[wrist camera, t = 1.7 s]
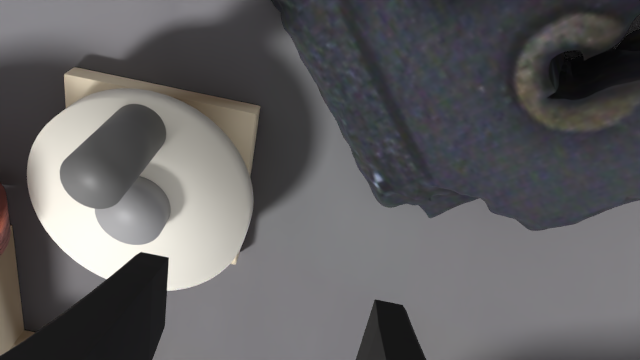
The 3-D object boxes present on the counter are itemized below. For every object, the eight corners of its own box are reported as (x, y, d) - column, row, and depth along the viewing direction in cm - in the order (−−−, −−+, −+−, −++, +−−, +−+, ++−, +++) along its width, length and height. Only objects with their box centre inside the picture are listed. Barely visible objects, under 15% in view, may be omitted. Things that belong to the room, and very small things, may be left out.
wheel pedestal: (260, 106, 20) (253, 121, 19) (239, 253, 24) (231, 275, 22) (74, 67, 20) (54, 80, 19) (80, 220, 24) (63, 241, 22)
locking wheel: (267, 115, 18) (239, 179, 15) (240, 291, 22) (212, 379, 19) (33, 66, 18) (-58, 118, 14) (48, 252, 22) (-21, 333, 18)
